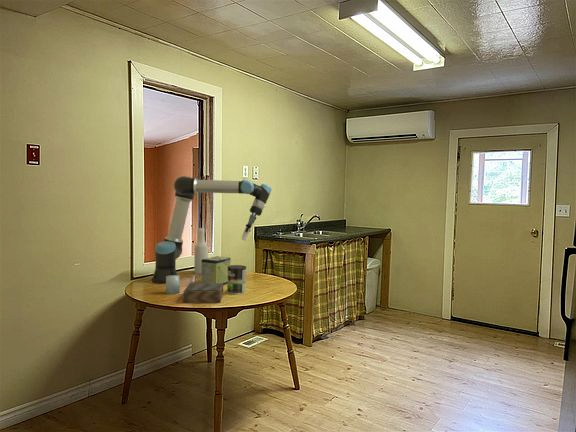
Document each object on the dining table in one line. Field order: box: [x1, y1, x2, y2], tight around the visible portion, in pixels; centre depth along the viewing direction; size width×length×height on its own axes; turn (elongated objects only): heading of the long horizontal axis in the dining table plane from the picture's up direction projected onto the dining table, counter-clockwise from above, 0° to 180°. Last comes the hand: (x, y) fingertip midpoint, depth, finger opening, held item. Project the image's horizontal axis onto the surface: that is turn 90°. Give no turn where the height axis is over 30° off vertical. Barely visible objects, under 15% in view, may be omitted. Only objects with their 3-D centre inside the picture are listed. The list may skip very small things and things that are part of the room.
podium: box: [182, 282, 224, 304], centre depth 218 cm, size 18×18×6 cm
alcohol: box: [193, 227, 209, 275], centre depth 285 cm, size 9×9×30 cm
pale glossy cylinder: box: [165, 274, 181, 295], centre depth 229 cm, size 7×7×9 cm
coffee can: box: [226, 264, 247, 295], centre depth 233 cm, size 10×10×14 cm
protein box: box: [200, 255, 231, 286], centre depth 252 cm, size 10×16×16 cm
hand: (243, 238), depth 264 cm, fingers open, 13 cm apart
